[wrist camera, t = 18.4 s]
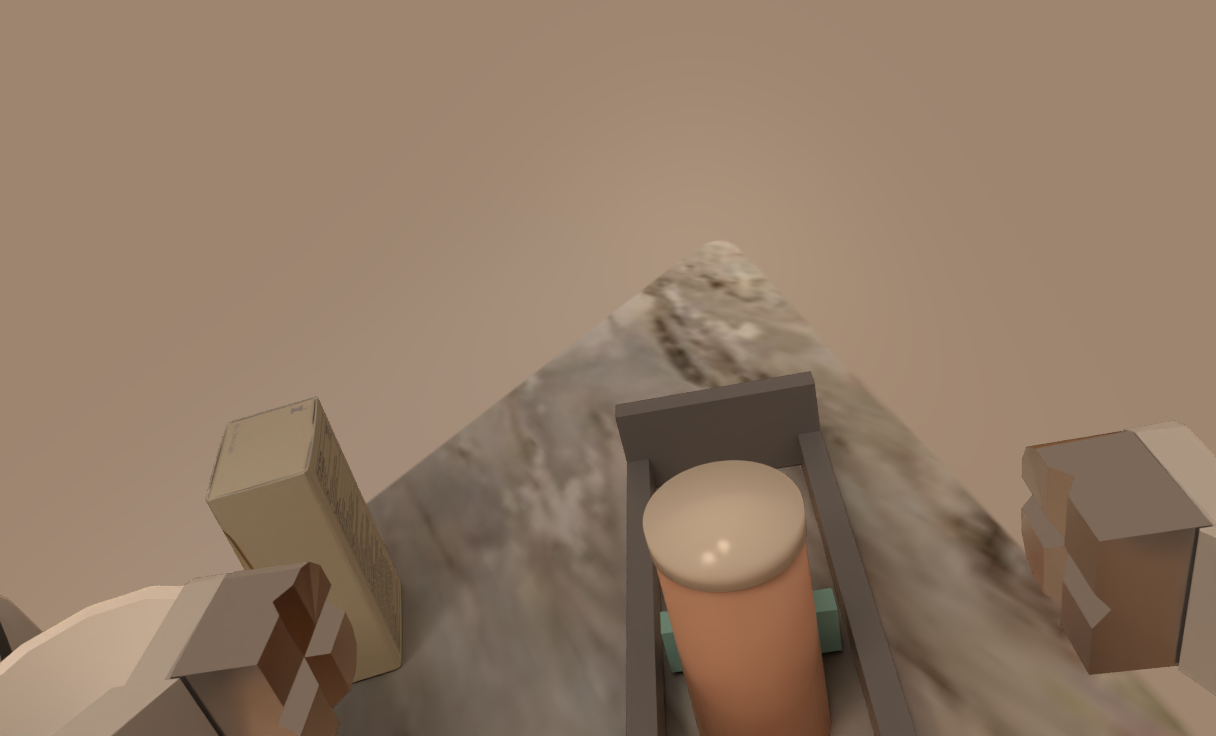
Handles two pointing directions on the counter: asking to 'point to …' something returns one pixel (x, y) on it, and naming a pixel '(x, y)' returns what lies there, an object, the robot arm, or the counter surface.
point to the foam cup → (78, 661)
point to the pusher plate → (825, 622)
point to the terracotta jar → (740, 598)
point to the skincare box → (308, 520)
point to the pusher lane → (763, 433)
